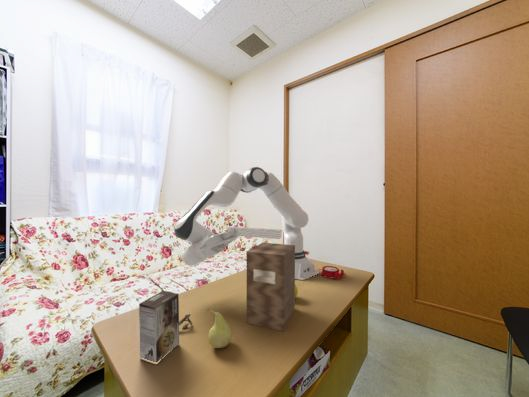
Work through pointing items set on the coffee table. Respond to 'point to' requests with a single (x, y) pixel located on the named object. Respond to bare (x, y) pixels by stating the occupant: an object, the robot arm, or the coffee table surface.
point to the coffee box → (159, 325)
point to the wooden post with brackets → (185, 320)
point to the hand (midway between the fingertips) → (237, 230)
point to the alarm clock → (332, 272)
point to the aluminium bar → (257, 232)
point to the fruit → (219, 332)
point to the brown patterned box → (270, 285)
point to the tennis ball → (296, 291)
